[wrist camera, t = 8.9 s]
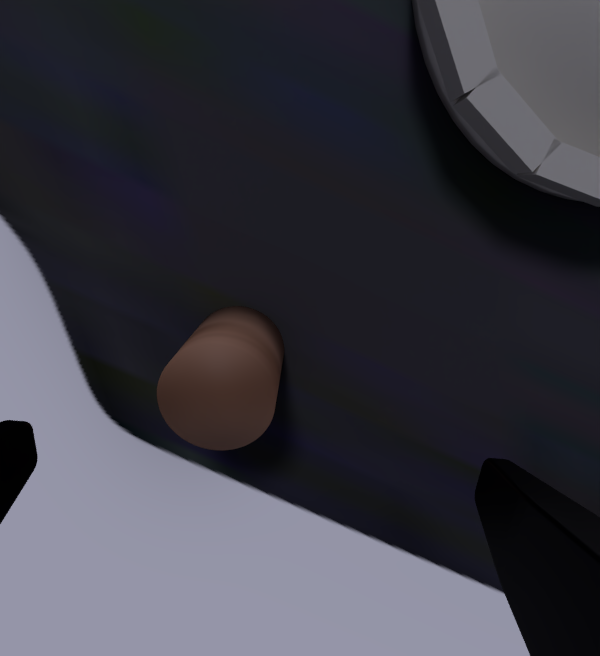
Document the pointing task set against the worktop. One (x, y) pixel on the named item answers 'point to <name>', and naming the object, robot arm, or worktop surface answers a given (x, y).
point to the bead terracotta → (224, 380)
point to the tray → (521, 85)
